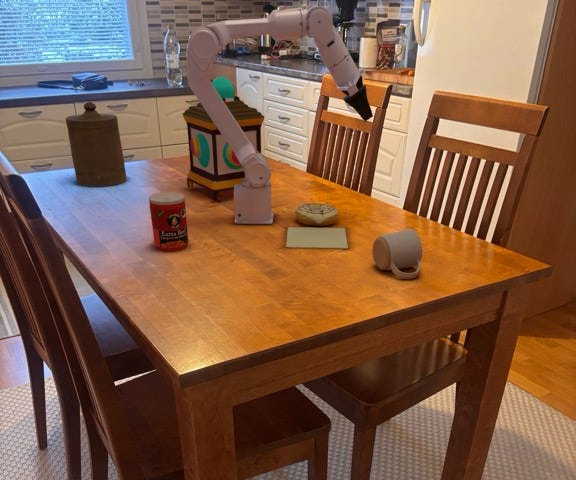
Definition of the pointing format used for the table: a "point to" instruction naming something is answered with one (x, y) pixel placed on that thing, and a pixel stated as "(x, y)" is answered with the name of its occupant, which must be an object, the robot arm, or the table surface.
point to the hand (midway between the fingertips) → (367, 114)
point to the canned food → (169, 221)
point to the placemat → (316, 238)
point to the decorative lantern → (219, 142)
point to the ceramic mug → (398, 252)
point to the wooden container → (96, 148)
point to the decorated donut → (316, 214)
